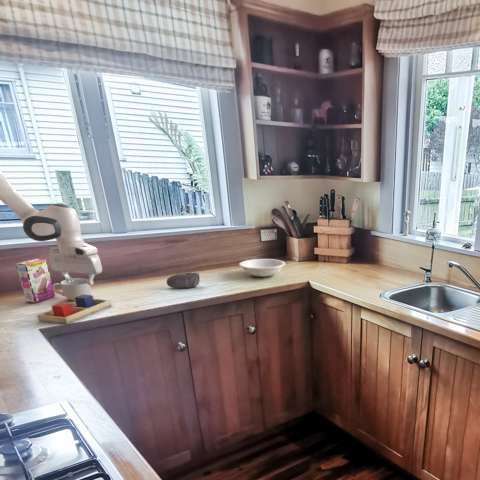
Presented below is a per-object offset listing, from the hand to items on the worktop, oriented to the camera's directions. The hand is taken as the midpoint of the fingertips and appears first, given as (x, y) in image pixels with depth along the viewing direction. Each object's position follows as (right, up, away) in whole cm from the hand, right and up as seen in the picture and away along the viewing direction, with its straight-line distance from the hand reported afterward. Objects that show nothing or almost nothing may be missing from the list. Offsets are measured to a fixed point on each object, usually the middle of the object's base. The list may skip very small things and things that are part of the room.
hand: (80, 283), depth 186 cm
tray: (-1, -12, 0) cm, 12 cm away
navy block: (0, -9, +4) cm, 10 cm away
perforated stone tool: (+26, +5, +38) cm, 46 cm away
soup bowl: (+58, +17, +64) cm, 88 cm away
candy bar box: (-26, -4, +15) cm, 31 cm away
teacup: (-13, -4, +17) cm, 21 cm away
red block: (-2, -14, -6) cm, 15 cm away
